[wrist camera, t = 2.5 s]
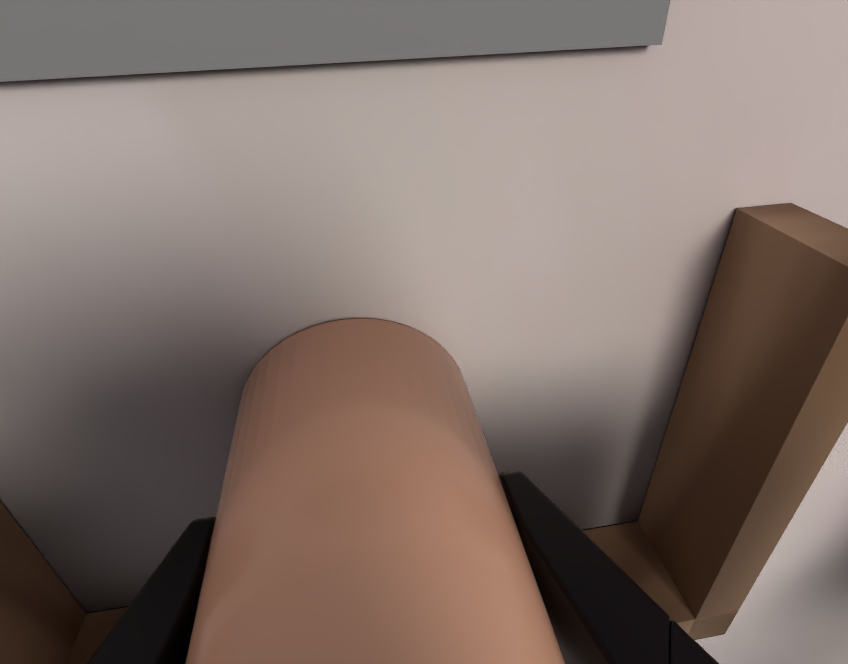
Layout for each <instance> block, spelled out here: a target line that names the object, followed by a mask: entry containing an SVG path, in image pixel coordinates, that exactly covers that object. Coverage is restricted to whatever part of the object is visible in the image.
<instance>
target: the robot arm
mask: <svg viewBox="0 0 848 664" xmlns="http://www.w3.org/2000/svg"><path fill="white" fill-rule="evenodd" d="M499 479H500V482H501V484H502V487H503V490H504V493H505V496H506V498H507V501H508V504H509V507H510V510H511V512H512V515H513V518H514V521H515V524H516V526H517V529H518V532H519V535H520V538H521V540H522V543H523V546H524V549H525V552H526V554H527V557H528V560H529V563H530V566H531V568H532V571H533V574H534V577H535V580H536V582H537V585H538V588H539V591H540V594H541V596H542V599H543V602H544V605H545V608H546V611H547V613H548V616H549V619H550V622H551V625H552V627H553V630H554V633H555V636H556V639H557V641H558V644H559V647H560V650H561V653H562V655H563V658H564V661H565V664H719V663H718V662H717V661H716V660H715V659H714V658H713V657H711V656H710V655H709V654H708V653H707V652H706V651H705V650H704V649H703V648H702V647H701V646H700V645H699V644H698V643H697V642H695V641H694V640H693V639H692V638H691V637H690V636H689V635H688V634H687V633H686V632H685V631H684V630H683V629H682V628H681V627H680V626H679V625H678V624H677V623H676V622H675V621H673V620H671V621H670V617H669V615H668V614H667V613H666V612H665V611H664V610H663V609H662V608H661V607H659V606H658V605H657V604H656V603H655V602H654V601H653V600H652V599H651V598H650V597H649V596H648V595H647V594H646V593H645V592H644V591H643V590H642V589H641V588H640V587H639V586H638V585H637V584H636V583H635V582H634V581H633V580H632V579H631V578H630V577H629V576H628V575H627V574H626V573H625V572H624V571H623V570H622V569H621V568H620V567H619V566H618V565H617V564H616V563H614V562H613V561H612V560H611V559H610V558H609V557H608V556H607V555H606V554H605V553H604V552H603V551H602V550H601V549H600V548H599V547H598V546H597V545H596V544H595V543H594V542H593V541H592V540H591V539H590V538H589V537H588V536H587V535H586V534H585V533H584V532H583V531H582V530H581V529H580V528H579V527H578V526H577V525H576V524H575V523H574V522H573V521H572V520H571V519H570V518H568V517H567V516H566V515H565V514H564V513H563V512H562V511H561V510H560V509H559V508H558V507H557V506H556V505H555V504H554V503H553V502H552V501H551V500H550V499H549V498H548V497H547V496H546V495H545V494H544V493H543V492H542V491H541V490H540V489H539V488H538V487H537V486H536V485H535V484H534V483H533V482H532V481H531V480H530V479H529V478H528V477H527V476H526V475H525V474H523V473H522V472H520V471H512V472H505V473H501V474H500V475H499ZM215 520H216V517H208V518H201V519H196V520H194V521H192V522H191V523H190V524H189V525H188V527H187V528H186V529H185V531H184V532H183V533H182V535H181V536H180V537H179V539H178V540H177V542H176V543H175V544H174V546H173V547H172V548H171V550H170V551H169V552H168V554H167V555H166V556H165V558H164V559H163V560H162V562H161V563H160V565H159V566H158V567H157V569H156V570H155V571H154V573H153V574H152V575H151V577H150V578H149V579H148V581H147V582H146V583H145V585H144V586H143V588H142V589H141V590H140V592H139V593H138V594H137V596H136V597H135V598H134V600H133V601H132V602H131V604H130V605H129V606H128V608H127V609H126V611H125V612H124V613H123V615H122V616H121V617H120V619H119V620H118V621H117V623H116V624H115V625H114V627H113V628H112V630H111V631H110V632H109V634H108V635H107V636H106V638H105V639H104V640H103V642H102V643H101V644H100V646H99V647H98V648H97V650H96V651H95V653H94V654H93V655H92V657H91V658H90V659H89V661H88V662H87V663H86V664H186V659H187V654H188V650H189V645H190V640H191V635H192V630H193V626H194V621H195V616H196V611H197V606H198V602H199V597H200V592H201V587H202V583H203V578H204V573H205V568H206V563H207V559H208V554H209V549H210V544H211V539H212V535H213V530H214V525H215Z"/></svg>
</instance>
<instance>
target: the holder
mask: <svg viewBox="0 0 848 664" xmlns="http://www.w3.org/2000/svg"><path fill="white" fill-rule="evenodd" d="M847 423H848V229H847V228H845V227H843V226H841V225H839V224H836V223H834V222H832V221H830V220H828V219H825V218H823V217H821V216H819V215H817V214H814V213H812V212H810V211H808V210H806V209H803V208H801V207H799V206H797V205H794V204H792V203H787V204H777V205H766V206H756V207H746V208H737V210H736V213H735V216H734V219H733V222H732V225H731V228H730V232H729V235H728V238H727V241H726V244H725V247H724V251H723V254H722V257H721V260H720V263H719V266H718V269H717V273H716V276H715V279H714V282H713V285H712V288H711V292H710V295H709V298H708V301H707V304H706V307H705V311H704V314H703V317H702V320H701V323H700V326H699V329H698V333H697V336H696V339H695V342H694V345H693V348H692V352H691V355H690V358H689V361H688V364H687V367H686V370H685V374H684V377H683V380H682V383H681V386H680V389H679V393H678V396H677V399H676V402H675V405H674V408H673V412H672V415H671V418H670V421H669V424H668V427H667V430H666V434H665V437H664V440H663V443H662V446H661V449H660V453H659V456H658V459H657V462H656V465H655V468H654V471H653V475H652V478H651V481H650V484H649V487H648V490H647V494H646V497H645V500H644V503H643V506H642V509H641V512H640V516H639V519H638V521H637V522H631V523H625V524H619V525H613V526H607V527H601V528H595V529H589V530H583V532H584V533H585V534H586V535H587V536H588V537H589V538H590V539H591V540H592V541H593V542H594V543H595V544H596V545H597V546H598V547H599V548H600V549H601V550H602V551H603V552H604V553H605V554H606V555H607V556H608V557H609V558H610V559H611V560H612V561H613V562H614V563H616V564H617V565H618V566H619V567H620V568H621V569H622V570H623V571H624V572H625V573H626V574H627V575H628V576H629V577H630V578H631V579H632V580H633V581H634V582H635V583H636V584H637V585H638V586H639V587H640V588H641V589H642V590H643V591H644V592H645V593H646V594H647V595H648V596H649V597H650V598H651V599H652V600H653V601H654V602H655V603H656V604H657V605H658V606H659V607H661V608H662V609H663V610H664V611H665V612H666V613H667V614H668V615H669V617H670V621H671V620H673V621H675V622H676V623H677V624H678V625H679V626H680V627H681V628H682V629H683V630H684V631H685V632H686V633H687V634H688V635H689V636H690V637H691V638H692V639H693V640H698V639H703V638H708V637H713V636H718V635H723V634H725V632H726V631H727V629H728V627H729V626H730V624H731V622H732V620H733V619H734V617H735V615H736V614H737V612H738V610H739V608H740V607H741V605H742V603H743V601H744V600H745V598H746V596H747V595H748V593H749V591H750V589H751V588H752V586H753V584H754V583H755V581H756V579H757V577H758V576H759V574H760V572H761V571H762V569H763V567H764V565H765V564H766V562H767V560H768V558H769V557H770V555H771V553H772V552H773V550H774V548H775V546H776V545H777V543H778V541H779V540H780V538H781V536H782V534H783V533H784V531H785V529H786V528H787V526H788V524H789V522H790V521H791V519H792V517H793V515H794V514H795V512H796V510H797V509H798V507H799V505H800V503H801V502H802V500H803V498H804V497H805V495H806V493H807V491H808V490H809V488H810V486H811V484H812V483H813V481H814V479H815V478H816V476H817V474H818V472H819V471H820V469H821V467H822V466H823V464H824V462H825V460H826V459H827V457H828V455H829V454H830V452H831V450H832V448H833V447H834V445H835V443H836V441H837V440H838V438H839V436H840V435H841V433H842V431H843V429H844V428H845V426H846V424H847ZM127 608H128V607H125V608H119V609H113V610H107V611H101V612H95V613H89V614H86V613H85V612H84V610H83V609H82V608H81V606H80V605H79V604H78V602H77V601H76V600H75V598H74V597H73V596H72V594H71V593H70V592H69V591H68V589H67V588H66V587H65V585H64V584H63V583H62V581H61V580H60V579H59V577H58V576H57V575H56V573H55V572H54V571H53V570H52V568H51V567H50V566H49V564H48V563H47V562H46V560H45V559H44V558H43V556H42V555H41V554H40V552H39V551H38V550H37V549H36V547H35V546H34V545H33V543H32V542H31V541H30V539H29V538H28V537H27V535H26V534H25V533H24V531H23V530H22V529H21V528H20V526H19V525H18V524H17V522H16V521H15V520H14V518H13V517H12V516H11V514H10V513H9V512H8V510H7V509H6V508H5V507H4V505H3V504H2V503H1V501H0V664H86V663H87V662H88V661H89V659H90V658H91V657H92V655H93V654H94V653H95V651H96V650H97V648H98V647H99V646H100V644H101V643H102V642H103V640H104V639H105V638H106V636H107V635H108V634H109V632H110V631H111V630H112V628H113V627H114V625H115V624H116V623H117V621H118V620H119V619H120V617H121V616H122V615H123V613H124V612H125V611H126V609H127Z"/></svg>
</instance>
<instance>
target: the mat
mask: <svg viewBox="0 0 848 664" xmlns="http://www.w3.org/2000/svg"><path fill="white" fill-rule="evenodd" d="M669 4H670V0H0V82H6V81H24V80H41V79H59V78H77V77H95V76H112V75H130V74H148V73H166V72H184V71H201V70H219V69H237V68H255V67H272V66H290V65H308V64H326V63H344V62H361V61H379V60H397V59H415V58H433V57H450V56H468V55H486V54H504V53H521V52H539V51H557V50H575V49H593V48H610V47H628V46H646V45H662V40H663V35H664V30H665V25H666V20H667V15H668V9H669Z"/></svg>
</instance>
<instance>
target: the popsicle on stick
mask: <svg viewBox="0 0 848 664" xmlns="http://www.w3.org/2000/svg"><path fill="white" fill-rule="evenodd" d="M186 664H565V661H564V658H563V655H562V653H561V650H560V647H559V644H558V641H557V639H556V636H555V633H554V630H553V627H552V625H551V622H550V619H549V616H548V613H547V611H546V608H545V605H544V602H543V599H542V596H541V594H540V591H539V588H538V585H537V582H536V580H535V577H534V574H533V571H532V568H531V566H530V563H529V560H528V557H527V554H526V552H525V549H524V546H523V543H522V540H521V538H520V535H519V532H518V529H517V526H516V524H515V521H514V518H513V515H512V512H511V510H510V507H509V504H508V501H507V498H506V496H505V493H504V490H503V487H502V484H501V482H500V479H499V476H498V473H497V470H496V467H495V465H494V462H493V459H492V456H491V453H490V451H489V448H488V445H487V442H486V439H485V437H484V434H483V431H482V428H481V425H480V423H479V420H478V417H477V414H476V411H475V409H474V406H473V403H472V400H471V397H470V395H469V392H468V389H467V386H466V383H465V381H464V378H463V375H462V373H461V371H460V369H459V367H458V365H457V364H456V362H455V360H454V359H453V357H452V356H451V355H450V354H449V353H448V352H447V351H446V350H445V349H444V348H443V347H442V346H441V345H440V344H438V343H437V342H436V341H435V340H434V339H432V338H430V337H429V336H427V335H425V334H424V333H422V332H420V331H417V330H415V329H413V328H410V327H408V326H405V325H401V324H398V323H395V322H390V321H384V320H378V319H344V320H338V321H332V322H327V323H323V324H320V325H316V326H313V327H310V328H308V329H305V330H303V331H300V332H298V333H296V334H294V335H292V336H290V337H289V338H287V339H285V340H283V341H282V342H281V343H279V344H278V345H276V346H275V347H274V348H272V349H271V350H270V351H269V352H268V353H267V354H266V355H265V356H264V357H263V358H262V359H261V360H260V361H259V362H258V364H257V365H256V366H255V368H254V369H253V370H252V372H251V374H250V376H249V377H248V379H247V381H246V383H245V386H244V389H243V392H242V396H241V401H240V405H239V410H238V415H237V420H236V424H235V429H234V434H233V439H232V444H231V448H230V453H229V458H228V463H227V468H226V472H225V477H224V482H223V487H222V492H221V496H220V501H219V506H218V511H217V515H216V520H215V525H214V530H213V535H212V539H211V544H210V549H209V554H208V559H207V563H206V568H205V573H204V578H203V583H202V587H201V592H200V597H199V602H198V606H197V611H196V616H195V621H194V626H193V630H192V635H191V640H190V645H189V650H188V654H187V659H186Z"/></svg>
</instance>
